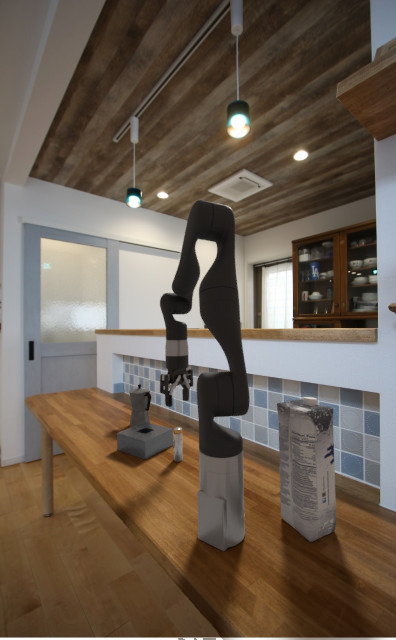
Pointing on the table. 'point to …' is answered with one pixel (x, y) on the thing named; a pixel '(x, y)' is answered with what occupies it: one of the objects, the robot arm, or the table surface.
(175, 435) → the cylinder
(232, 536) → the robot arm
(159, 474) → the table surface
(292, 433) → the juice carton
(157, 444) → the bore block
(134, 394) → the coffeepot
